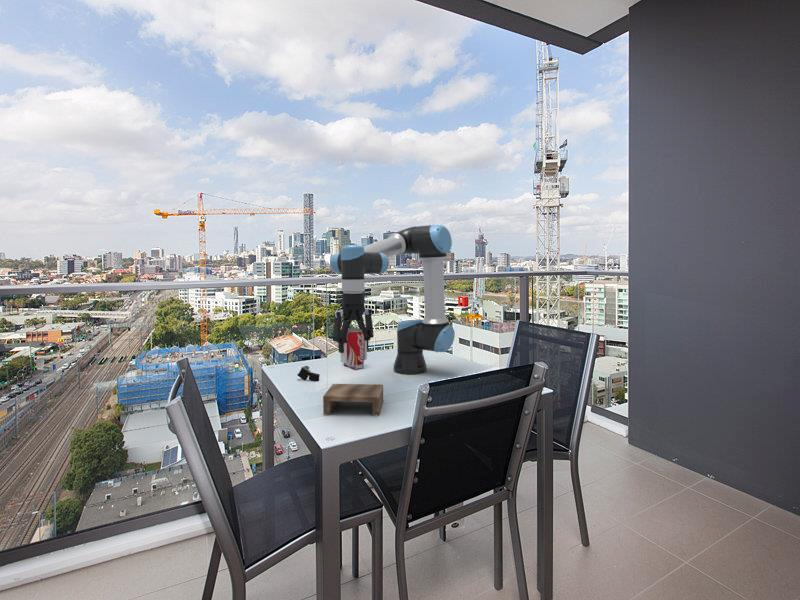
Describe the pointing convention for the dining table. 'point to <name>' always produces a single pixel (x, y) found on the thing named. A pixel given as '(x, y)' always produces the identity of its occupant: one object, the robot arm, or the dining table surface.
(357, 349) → the soda can
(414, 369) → the robot arm
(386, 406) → the dining table surface
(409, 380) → the dining table surface
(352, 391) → the walnut shelf
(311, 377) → the lighter
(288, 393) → the dining table surface
